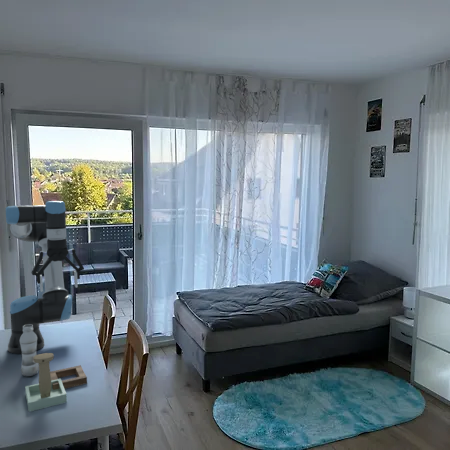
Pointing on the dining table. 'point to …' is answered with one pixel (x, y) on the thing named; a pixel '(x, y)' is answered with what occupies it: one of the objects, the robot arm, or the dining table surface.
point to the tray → (55, 397)
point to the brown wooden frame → (72, 382)
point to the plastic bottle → (28, 351)
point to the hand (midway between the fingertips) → (59, 289)
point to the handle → (44, 373)
